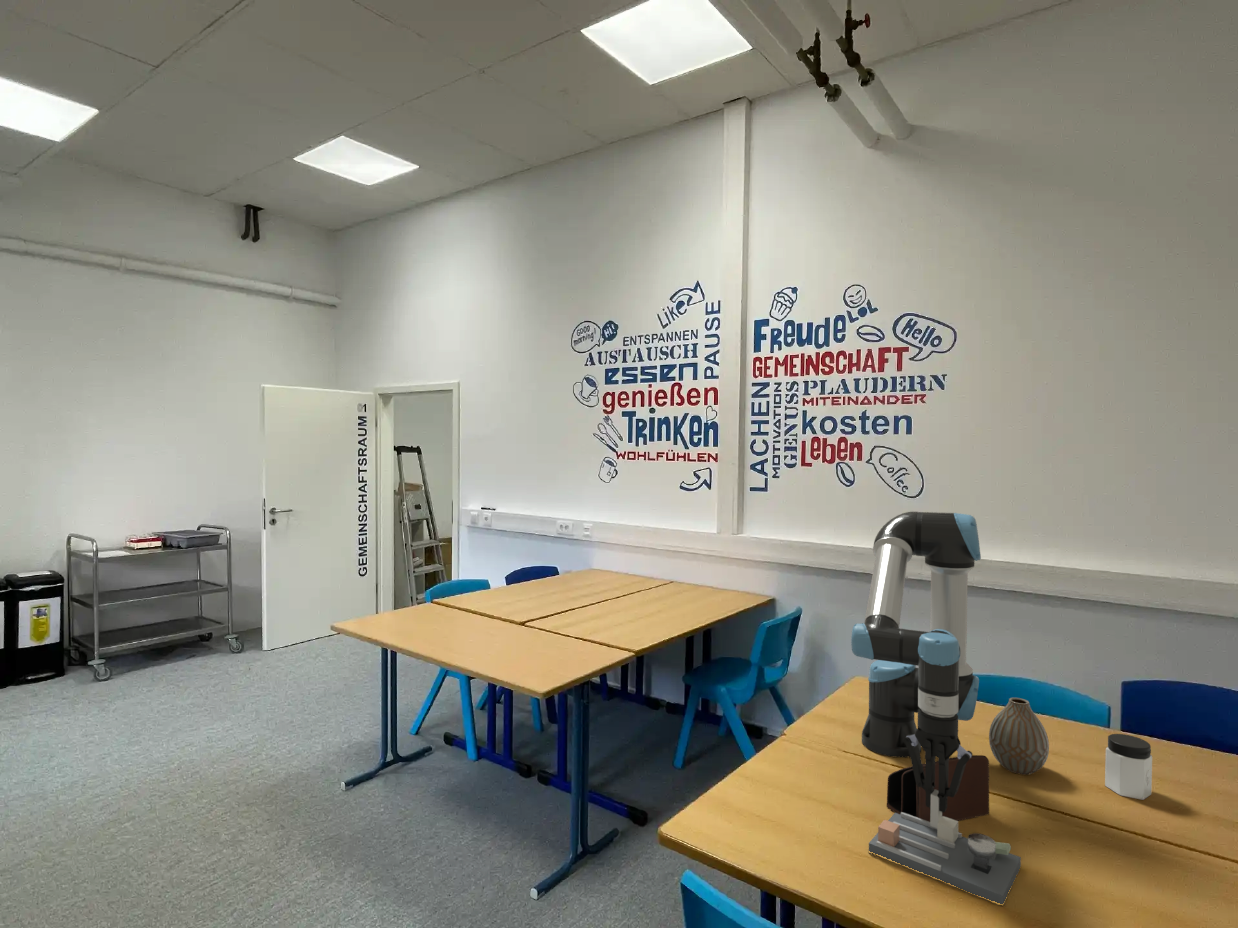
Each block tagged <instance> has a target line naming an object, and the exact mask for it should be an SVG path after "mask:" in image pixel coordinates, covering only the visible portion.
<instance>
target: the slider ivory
mask: <svg viewBox="0 0 1238 928" xmlns="http://www.w3.org/2000/svg"><path fill="white" fill-rule="evenodd" d="M958 832H959V821H956V820H953V819H950V818H947V817H944V816H942V818H941V819H940V820H939V822H938V826H937V837H938V838H941V839H944V840H947V841H949V842H952V843H954V842H955V841H956V839H957V838H958Z"/></svg>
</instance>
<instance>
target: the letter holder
mask: <svg viewBox="0 0 1238 928" xmlns="http://www.w3.org/2000/svg"><path fill="white" fill-rule="evenodd" d="M958 761H959V759H958V757H957V756H955V757H949V771H948V788H950V785H951V781H952V778H953V775H954V771H955V768H956V765H957V762H958ZM922 766H923V770H924V775H925V763H922ZM935 785H936V787H935V788H934V790H938V788H939V763H938V760H937V761H935ZM886 786H887V787H886V808H887V807H888V808H887V809H889V808H890V809H891V810H890V809H889V810H890V811H892V812H893V813H894V812H895V813H898V814H900V815H901V812H903V813H906V814H909V815H912V816H914V817H917V818H920V819H923V820H926V821H929V822H930V810H931V808H929V807H927V806H926V792H925V790H924V789H923V788H922V787H918V786H917V785H916V781H915V777H914V772H913V768H912V765H911V766H908V767H903V768H901V769H898V770H896V771H893V772H891V773H890V774H889V775H888V776H887V785H886ZM989 815H990V761H989V758H988V757H987V756H986V755H982V754H981V755H980V754H979V755H978V754H977V755H975V754H973V755H972V757H971V758H970V759H969V761H968V762H967V763H966V766H965V769H964V772H963V776H962V779H961V782H960V785H959V789H958V792H957V793H956V794H955V796H954V797H950V796H948V797H947V809H946V811H945V812H942V816H944V817H947V818H950V819H953V820H956V821H958V822H961V821H965V820H969V819H974V818H979V817H983V816H989Z"/></svg>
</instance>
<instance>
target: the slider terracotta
mask: <svg viewBox="0 0 1238 928" xmlns="http://www.w3.org/2000/svg"><path fill="white" fill-rule="evenodd" d="M877 828H878V829H877V833H878V841H879V842H882V843H885V844H887V845H890V846H892V847H895V845H896V844H897V843H898V842H899V833H900V825H898V824H896V823H893V822H890V821H888V820H887V819H883V820H882V822H881V823H880V824H879V825H878V827H877Z"/></svg>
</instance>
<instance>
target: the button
mask: <svg viewBox="0 0 1238 928" xmlns="http://www.w3.org/2000/svg"><path fill="white" fill-rule="evenodd" d="M967 838H968V850H969V852H970V853H972V854H973V855H974V863H973V864H974V865H977V866H979V867H982V868H985V869H987V867H988V865H989V859H992V858H994V857H995V849H996V843H995V842H996V841H995V840H994V839H993V838H992V837H991V836H988V835H986V834H983V833H979V832H977V833H976V832H973V833H969V834H968V836H967Z"/></svg>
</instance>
